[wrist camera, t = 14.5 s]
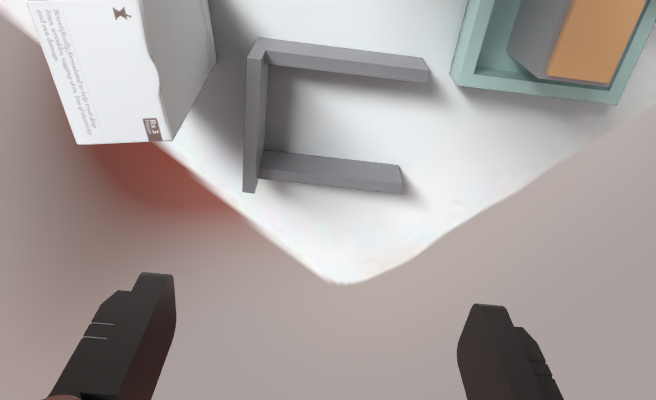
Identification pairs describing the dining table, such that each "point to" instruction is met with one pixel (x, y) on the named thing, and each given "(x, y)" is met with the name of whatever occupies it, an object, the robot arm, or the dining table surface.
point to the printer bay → (309, 166)
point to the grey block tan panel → (573, 38)
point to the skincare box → (126, 64)
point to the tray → (509, 75)
